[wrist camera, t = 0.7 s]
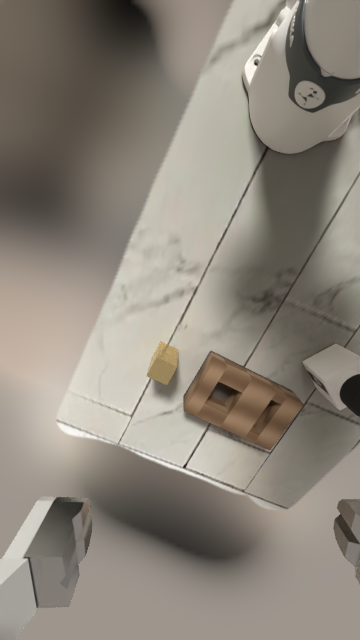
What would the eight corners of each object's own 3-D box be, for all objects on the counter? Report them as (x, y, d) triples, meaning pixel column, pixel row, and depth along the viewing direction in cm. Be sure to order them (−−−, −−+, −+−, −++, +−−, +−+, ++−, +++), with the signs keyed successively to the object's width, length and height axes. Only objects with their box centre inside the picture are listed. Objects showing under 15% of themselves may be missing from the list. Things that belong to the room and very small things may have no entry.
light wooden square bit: (160, 341, 48) (156, 357, 40) (178, 349, 48) (177, 367, 41) (152, 357, 49) (146, 375, 41) (169, 365, 49) (167, 385, 41)
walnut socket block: (210, 350, 48) (214, 360, 43) (292, 390, 50) (303, 404, 46) (183, 396, 51) (183, 410, 46) (261, 432, 53) (270, 450, 48)
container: (316, 389, 50) (361, 432, 38) (300, 361, 49) (342, 396, 36) (350, 371, 49) (408, 410, 37) (335, 342, 48) (391, 372, 35)
